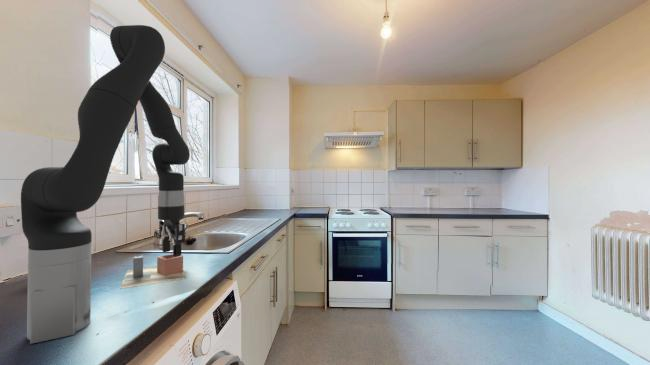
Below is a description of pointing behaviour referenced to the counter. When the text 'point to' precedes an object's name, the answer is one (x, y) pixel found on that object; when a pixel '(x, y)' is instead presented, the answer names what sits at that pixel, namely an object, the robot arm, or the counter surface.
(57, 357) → the counter surface
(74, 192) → the robot arm
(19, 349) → the counter surface
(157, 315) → the counter surface
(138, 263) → the d shaft post
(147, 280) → the beige flat rectangular board
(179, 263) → the brown boxy piece
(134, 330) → the counter surface
